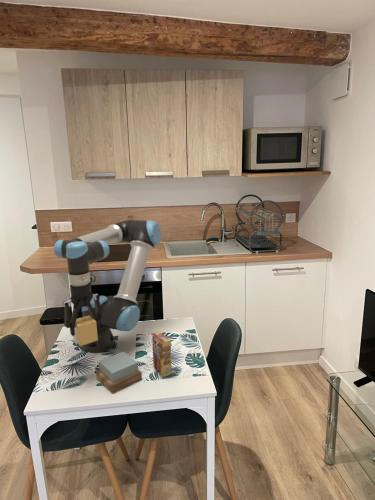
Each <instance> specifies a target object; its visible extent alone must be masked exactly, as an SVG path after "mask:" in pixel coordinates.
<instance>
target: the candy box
mask: <svg viewBox="0 0 375 500" xmlns="http://www.w3.org/2000/svg"><path fill="white" fill-rule="evenodd" d="M151 335H152V338H151V339H152V342H151V343H152V364H153V369H154V370H155V371H156V372H157V373H158V374H159V375H160V376H161V377H162V378H166V377H168V376H171V375H172V347H171V345H172V341H171V339H170V338H169V337H167V336H166V335H165V334H164V333H162V332H161V331H159V332H155V333H152V334H151Z"/></svg>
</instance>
